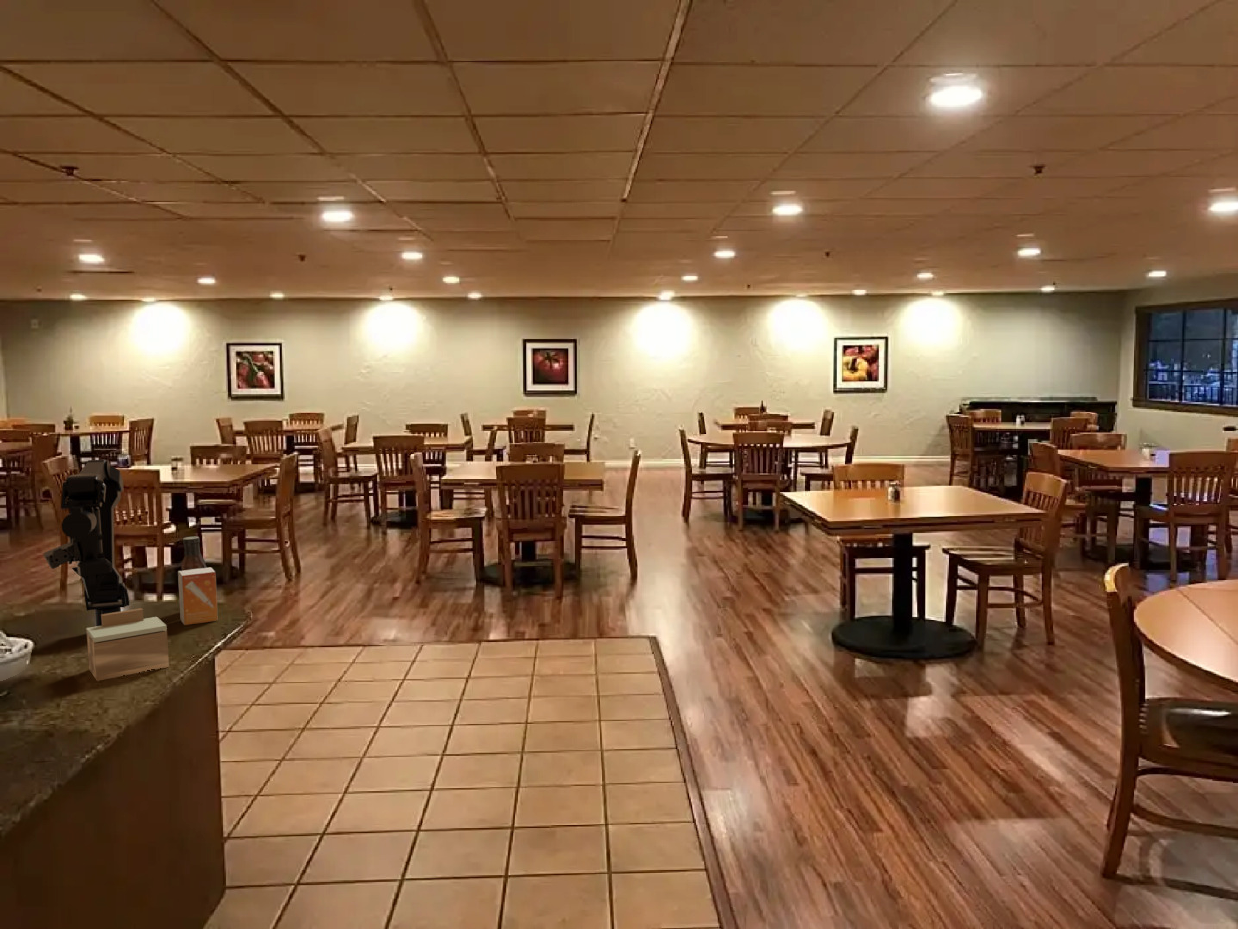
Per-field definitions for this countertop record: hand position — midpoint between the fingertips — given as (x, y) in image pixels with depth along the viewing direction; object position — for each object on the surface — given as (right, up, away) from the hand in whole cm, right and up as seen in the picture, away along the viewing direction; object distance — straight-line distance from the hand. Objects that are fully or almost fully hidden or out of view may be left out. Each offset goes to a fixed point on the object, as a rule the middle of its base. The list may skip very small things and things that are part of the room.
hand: (91, 598), depth 213 cm
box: (+13, -14, -8) cm, 21 cm away
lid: (+13, -6, -9) cm, 17 cm away
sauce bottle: (+7, -9, +38) cm, 39 cm away
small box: (+12, -10, +28) cm, 32 cm away
